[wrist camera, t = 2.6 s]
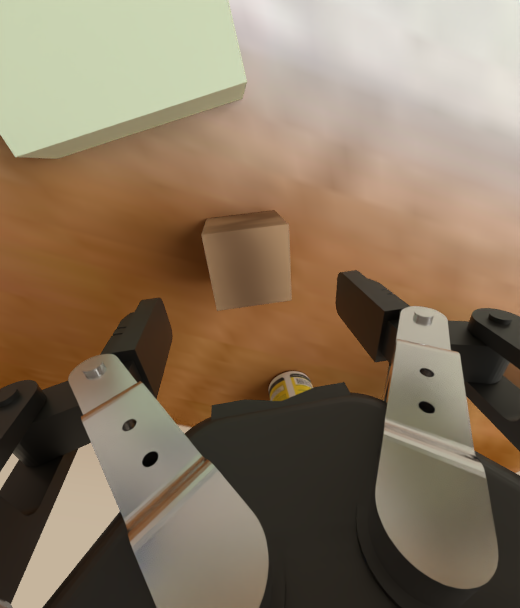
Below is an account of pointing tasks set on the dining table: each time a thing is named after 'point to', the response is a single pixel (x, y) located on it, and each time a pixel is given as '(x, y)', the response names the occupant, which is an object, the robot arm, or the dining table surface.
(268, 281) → the walnut cube
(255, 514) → the robot arm
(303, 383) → the supplement bottle
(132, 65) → the sage block
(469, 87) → the dining table surface
